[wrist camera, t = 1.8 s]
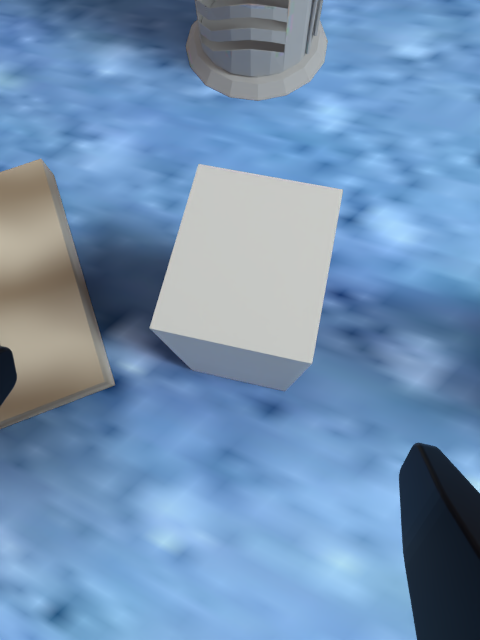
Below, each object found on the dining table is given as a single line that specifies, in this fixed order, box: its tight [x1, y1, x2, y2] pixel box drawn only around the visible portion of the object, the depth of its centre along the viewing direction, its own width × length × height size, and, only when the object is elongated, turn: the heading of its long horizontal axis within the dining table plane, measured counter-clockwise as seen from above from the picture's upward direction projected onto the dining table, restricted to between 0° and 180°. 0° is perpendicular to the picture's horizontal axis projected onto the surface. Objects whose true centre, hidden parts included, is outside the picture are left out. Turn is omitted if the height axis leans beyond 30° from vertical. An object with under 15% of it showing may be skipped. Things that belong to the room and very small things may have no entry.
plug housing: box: [150, 164, 343, 391], centre depth 16 cm, size 6×5×9 cm
